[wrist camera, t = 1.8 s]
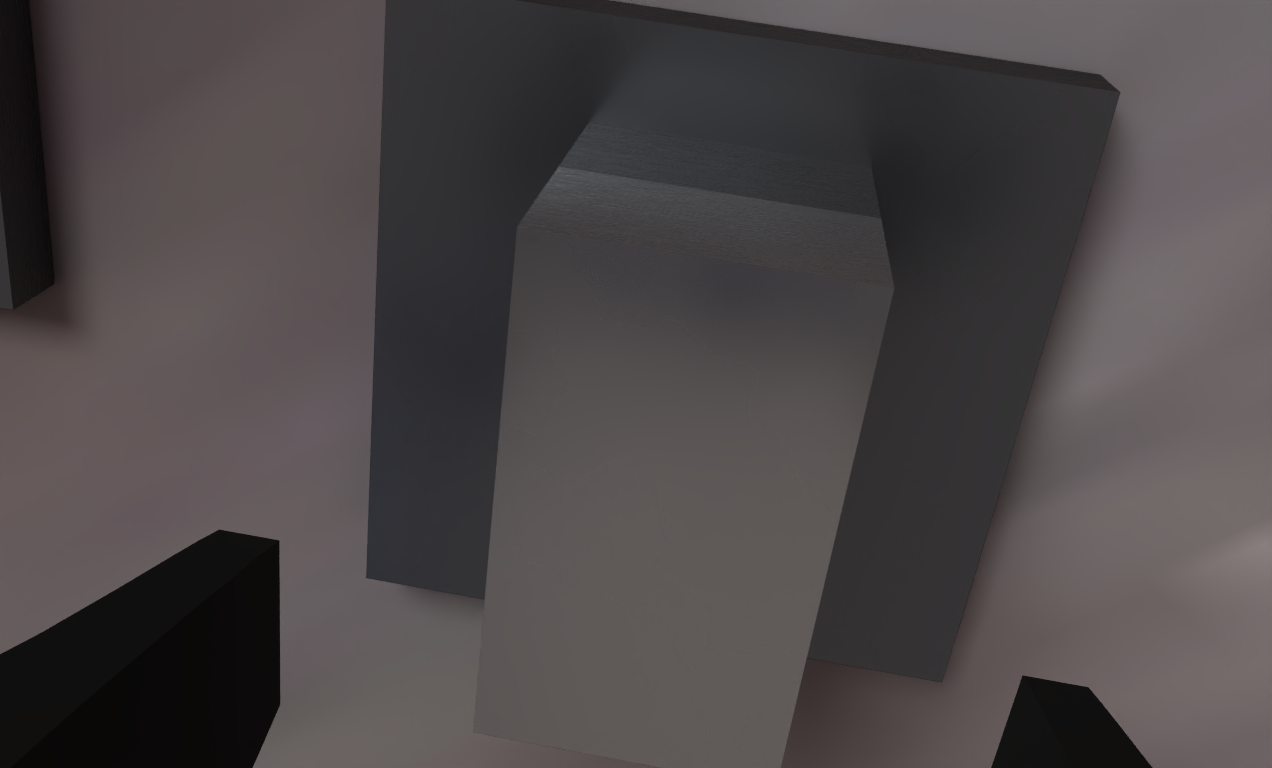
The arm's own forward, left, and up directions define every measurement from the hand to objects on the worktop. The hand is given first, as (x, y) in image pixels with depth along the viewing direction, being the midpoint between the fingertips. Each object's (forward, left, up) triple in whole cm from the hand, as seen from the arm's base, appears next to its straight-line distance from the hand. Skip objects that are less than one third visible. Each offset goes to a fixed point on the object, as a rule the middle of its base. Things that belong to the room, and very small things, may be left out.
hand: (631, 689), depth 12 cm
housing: (0, 0, -8) cm, 8 cm away
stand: (0, 0, -9) cm, 9 cm away
